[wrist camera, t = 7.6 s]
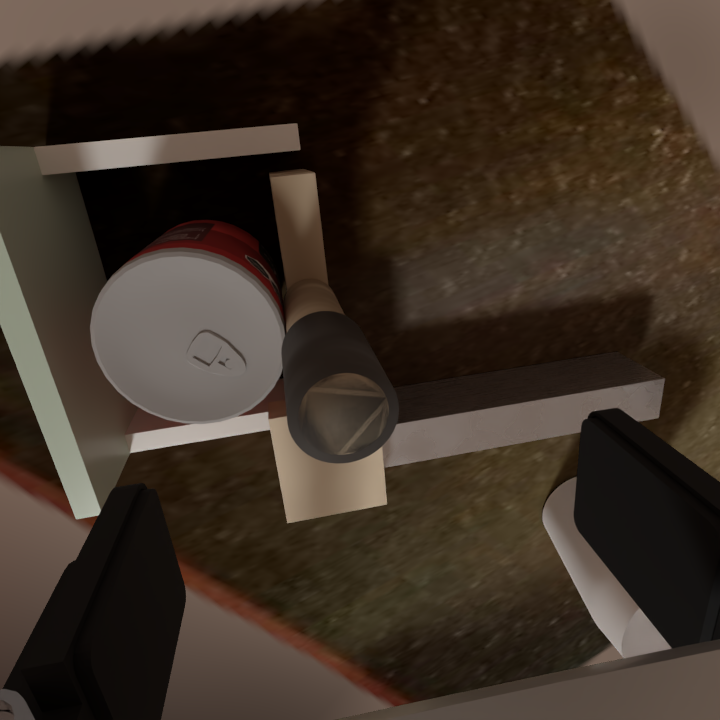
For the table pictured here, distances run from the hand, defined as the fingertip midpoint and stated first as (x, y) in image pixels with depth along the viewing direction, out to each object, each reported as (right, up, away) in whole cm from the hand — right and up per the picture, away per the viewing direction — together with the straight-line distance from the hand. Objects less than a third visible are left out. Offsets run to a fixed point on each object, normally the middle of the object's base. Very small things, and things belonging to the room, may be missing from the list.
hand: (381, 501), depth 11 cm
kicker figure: (-4, +5, +22) cm, 22 cm away
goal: (-9, +8, +20) cm, 23 cm away
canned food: (-9, +8, +20) cm, 24 cm away
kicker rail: (+8, +1, +26) cm, 27 cm away
